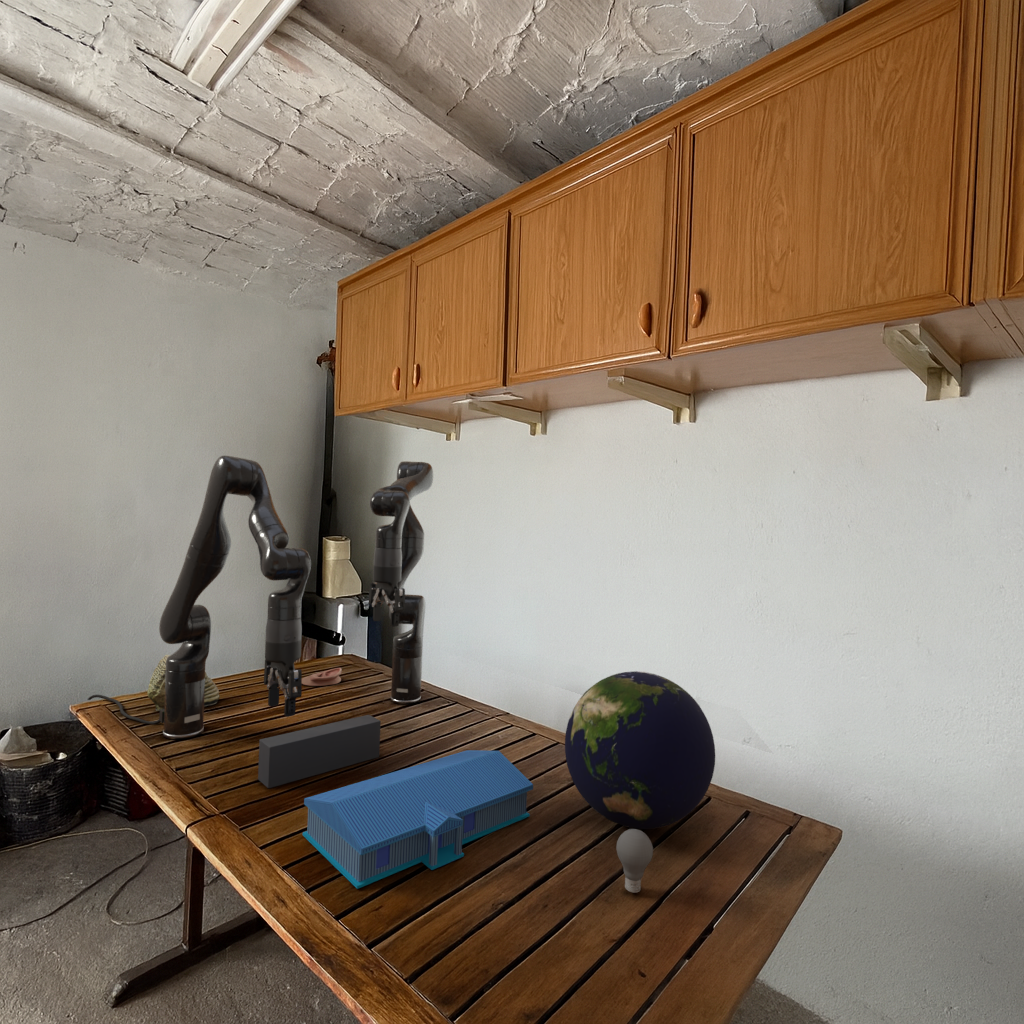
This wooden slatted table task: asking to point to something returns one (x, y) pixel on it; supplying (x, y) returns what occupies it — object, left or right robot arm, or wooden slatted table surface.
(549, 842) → the wooden slatted table surface
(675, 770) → the globe
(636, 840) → the light bulb
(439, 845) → the model building
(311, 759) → the bar
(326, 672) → the anatomical model
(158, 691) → the fossil
